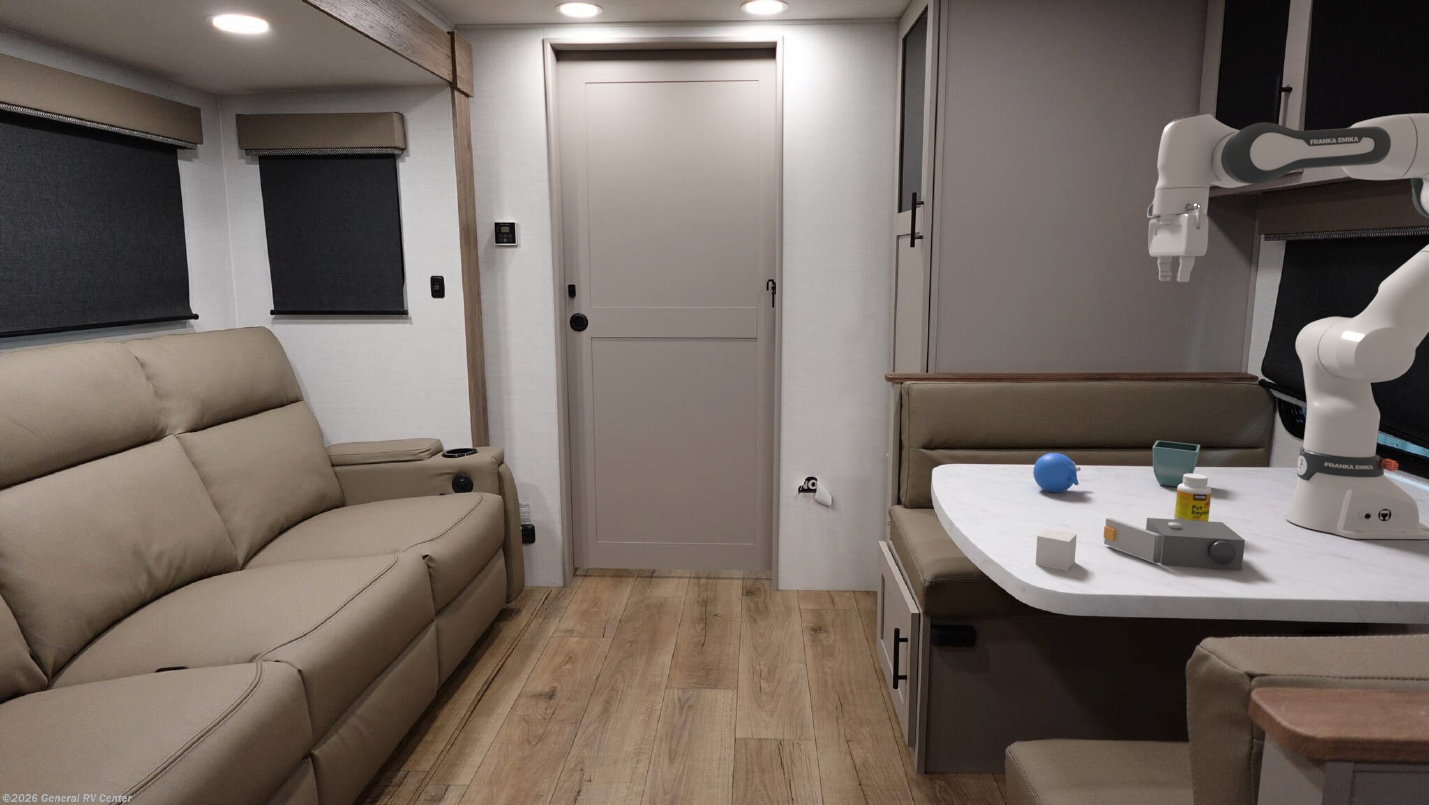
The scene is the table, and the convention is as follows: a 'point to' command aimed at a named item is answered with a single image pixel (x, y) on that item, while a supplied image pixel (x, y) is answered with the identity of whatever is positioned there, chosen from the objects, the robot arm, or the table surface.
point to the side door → (1133, 540)
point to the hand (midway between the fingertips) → (1173, 281)
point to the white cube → (1056, 549)
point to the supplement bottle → (1193, 498)
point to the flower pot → (1173, 461)
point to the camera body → (1198, 543)
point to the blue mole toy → (1055, 472)
